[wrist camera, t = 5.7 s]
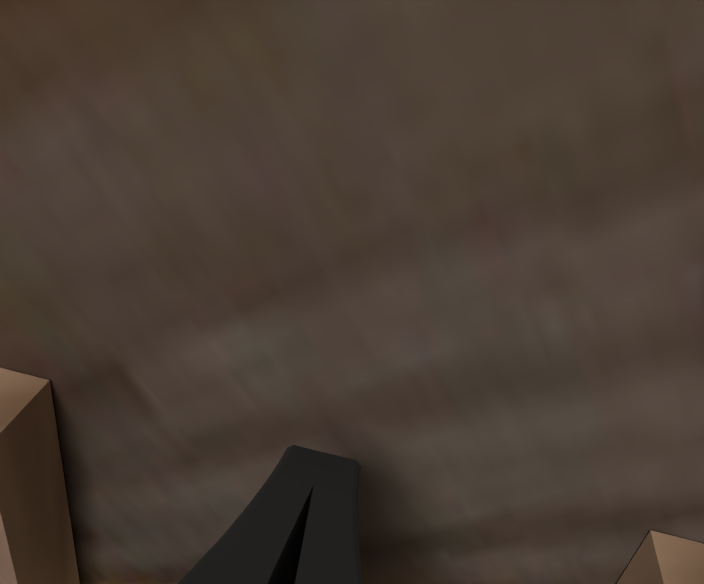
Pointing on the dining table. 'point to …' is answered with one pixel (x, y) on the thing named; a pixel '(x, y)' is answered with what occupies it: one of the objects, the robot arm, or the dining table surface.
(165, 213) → the dining table surface
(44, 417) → the tray
